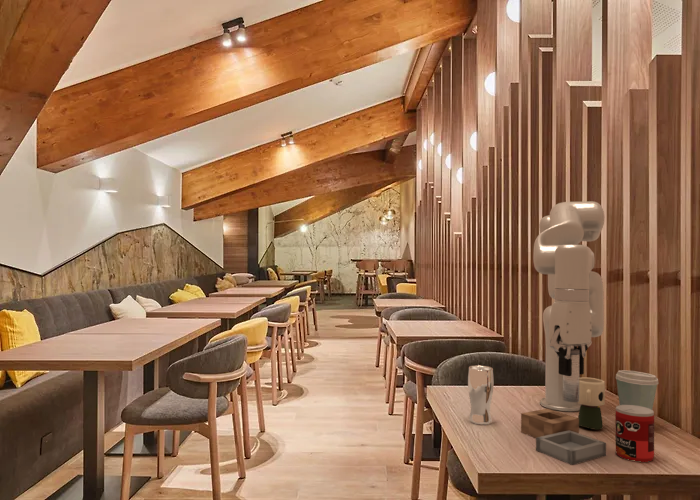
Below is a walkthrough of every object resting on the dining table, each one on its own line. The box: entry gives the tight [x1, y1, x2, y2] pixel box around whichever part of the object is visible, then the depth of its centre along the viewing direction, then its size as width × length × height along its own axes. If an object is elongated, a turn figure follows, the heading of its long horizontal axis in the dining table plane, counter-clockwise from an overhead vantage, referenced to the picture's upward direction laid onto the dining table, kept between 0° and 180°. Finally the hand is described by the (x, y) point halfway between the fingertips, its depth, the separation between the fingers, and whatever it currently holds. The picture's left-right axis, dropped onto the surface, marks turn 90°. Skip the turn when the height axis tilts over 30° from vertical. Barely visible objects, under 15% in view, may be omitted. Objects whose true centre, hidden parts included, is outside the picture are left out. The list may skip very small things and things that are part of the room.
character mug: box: [577, 376, 606, 430], centre depth 143 cm, size 11×7×13 cm, turn 150°
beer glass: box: [467, 365, 495, 426], centre depth 147 cm, size 7×7×15 cm
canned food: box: [614, 404, 655, 463], centre depth 122 cm, size 8×8×11 cm
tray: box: [535, 430, 607, 466], centre depth 124 cm, size 12×10×3 cm
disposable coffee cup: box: [615, 369, 659, 410], centre depth 145 cm, size 11×11×15 cm
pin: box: [563, 348, 580, 402], centre depth 124 cm, size 4×4×12 cm
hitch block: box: [520, 408, 580, 439], centre depth 136 cm, size 10×10×5 cm
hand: (571, 373), depth 124 cm, fingers closed on pin, 3 cm apart
